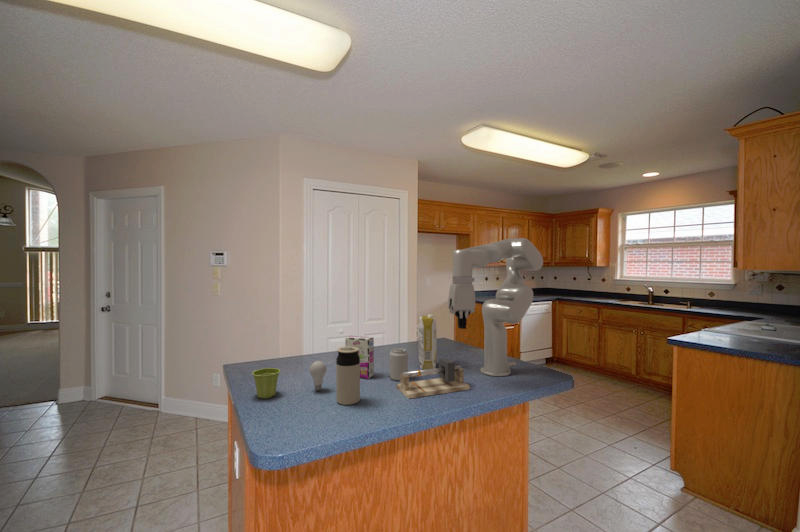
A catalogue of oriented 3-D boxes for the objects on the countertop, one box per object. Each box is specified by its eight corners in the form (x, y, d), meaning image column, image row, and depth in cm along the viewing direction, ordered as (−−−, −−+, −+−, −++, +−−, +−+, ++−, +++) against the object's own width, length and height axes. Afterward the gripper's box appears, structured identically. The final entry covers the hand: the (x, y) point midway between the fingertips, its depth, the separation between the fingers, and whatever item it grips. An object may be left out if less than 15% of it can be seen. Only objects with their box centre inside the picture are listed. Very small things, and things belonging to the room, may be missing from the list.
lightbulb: (329, 388, 136) (329, 359, 136) (320, 394, 131) (320, 364, 131) (315, 387, 138) (315, 358, 138) (306, 392, 133) (306, 362, 133)
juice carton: (436, 370, 160) (436, 316, 160) (419, 370, 160) (419, 316, 160) (435, 364, 169) (435, 313, 169) (418, 364, 169) (418, 313, 169)
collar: (445, 375, 143) (445, 357, 143) (454, 381, 136) (454, 362, 136) (438, 376, 141) (438, 358, 141) (447, 382, 135) (447, 363, 135)
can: (405, 382, 144) (405, 352, 144) (387, 380, 146) (387, 351, 146) (409, 376, 152) (409, 347, 151) (391, 375, 153) (391, 346, 153)
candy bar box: (374, 376, 152) (374, 337, 152) (368, 379, 147) (368, 339, 147) (351, 373, 156) (351, 335, 156) (345, 376, 152) (345, 337, 151)
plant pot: (252, 393, 132) (252, 369, 132) (279, 389, 136) (279, 366, 136) (252, 402, 124) (252, 376, 124) (281, 398, 127) (281, 373, 127)
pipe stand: (453, 379, 147) (453, 363, 147) (469, 389, 136) (469, 372, 136) (396, 387, 138) (396, 370, 137) (408, 398, 126) (408, 380, 126)
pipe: (458, 370, 142) (458, 364, 142) (461, 371, 140) (461, 365, 140) (402, 377, 133) (402, 371, 133) (404, 379, 131) (404, 372, 131)
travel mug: (349, 407, 119) (349, 352, 119) (331, 402, 123) (331, 349, 123) (364, 399, 126) (364, 347, 126) (346, 395, 130) (346, 345, 130)
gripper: (473, 280, 147) (473, 325, 147) (440, 281, 142) (440, 327, 142) (484, 281, 140) (483, 328, 140) (450, 281, 135) (450, 331, 135)
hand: (462, 328), depth 141 cm, fingers closed
